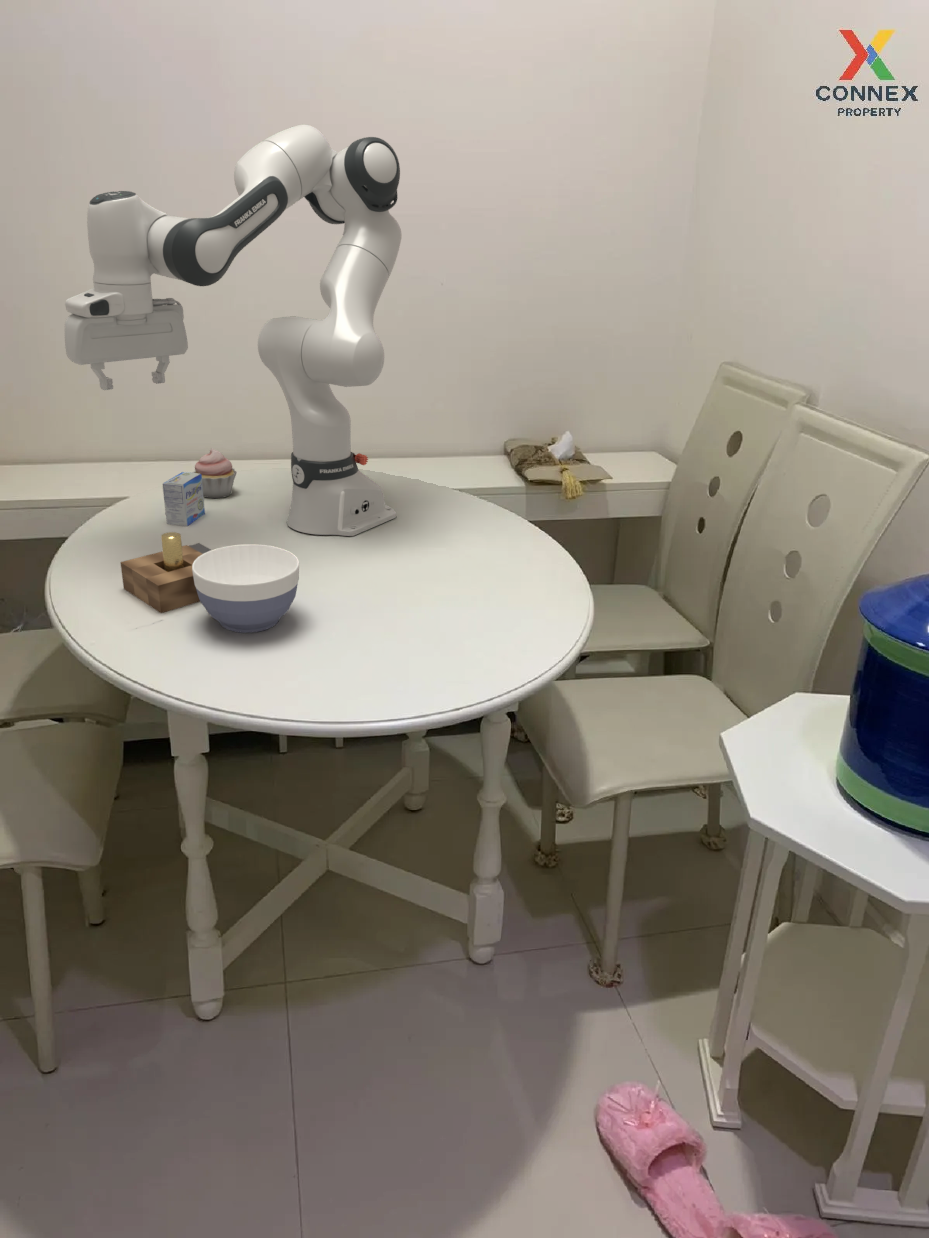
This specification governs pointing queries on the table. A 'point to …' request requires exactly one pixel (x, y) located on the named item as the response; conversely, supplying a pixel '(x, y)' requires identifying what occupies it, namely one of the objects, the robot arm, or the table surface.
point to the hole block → (161, 581)
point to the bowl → (246, 585)
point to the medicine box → (183, 498)
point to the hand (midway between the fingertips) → (133, 386)
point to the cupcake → (215, 474)
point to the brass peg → (172, 551)
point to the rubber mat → (200, 548)
